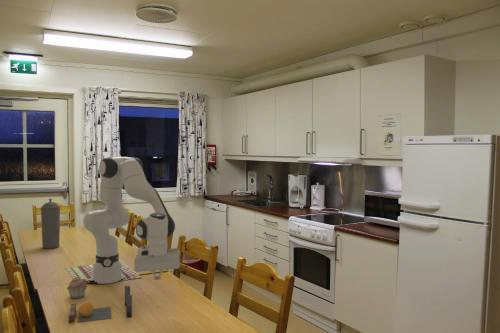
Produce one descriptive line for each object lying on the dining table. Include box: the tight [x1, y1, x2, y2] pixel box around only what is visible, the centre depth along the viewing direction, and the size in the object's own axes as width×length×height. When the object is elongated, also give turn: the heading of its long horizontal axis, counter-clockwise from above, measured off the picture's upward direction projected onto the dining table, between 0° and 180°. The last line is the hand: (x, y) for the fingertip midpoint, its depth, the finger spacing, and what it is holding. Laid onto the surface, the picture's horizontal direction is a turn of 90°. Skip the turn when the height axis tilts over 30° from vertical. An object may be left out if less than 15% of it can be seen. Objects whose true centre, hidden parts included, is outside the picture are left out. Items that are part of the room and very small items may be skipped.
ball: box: [77, 301, 94, 317], centre depth 180 cm, size 6×6×6 cm
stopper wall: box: [68, 303, 77, 324], centre depth 180 cm, size 14×2×3 cm, turn 19°
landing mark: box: [77, 306, 112, 323], centre depth 183 cm, size 13×13×1 cm
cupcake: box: [66, 275, 88, 299], centre depth 204 cm, size 9×9×10 cm
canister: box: [40, 198, 61, 250], centre depth 301 cm, size 13×13×35 cm
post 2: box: [125, 294, 133, 318], centre depth 181 cm, size 2×2×9 cm
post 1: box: [124, 284, 131, 307], centre depth 193 cm, size 2×2×9 cm
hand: (157, 279), depth 191 cm, fingers closed
